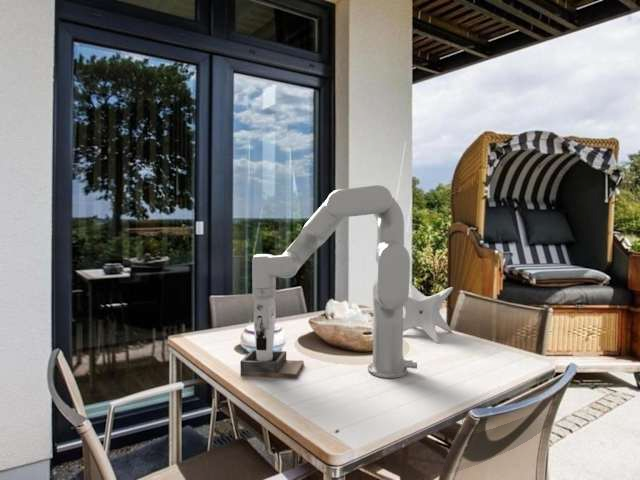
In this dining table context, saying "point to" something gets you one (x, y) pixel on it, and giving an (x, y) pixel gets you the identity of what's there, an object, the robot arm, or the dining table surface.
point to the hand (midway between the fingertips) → (264, 346)
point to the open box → (270, 366)
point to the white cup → (268, 353)
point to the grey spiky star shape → (425, 312)
